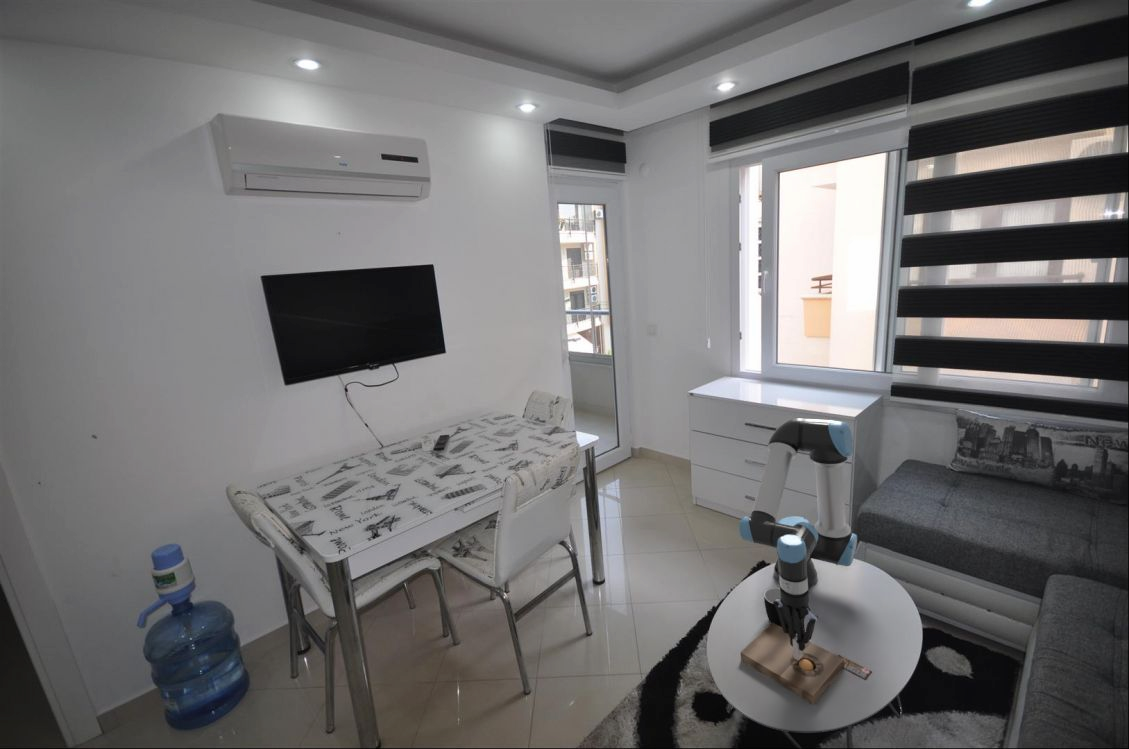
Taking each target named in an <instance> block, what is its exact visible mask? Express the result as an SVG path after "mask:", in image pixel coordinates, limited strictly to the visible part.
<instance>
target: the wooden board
mask: <svg viewBox="0 0 1129 749" xmlns="http://www.w3.org/2000/svg"><path fill="white" fill-rule="evenodd" d="M803 659H806V660H808V661H810V662H811V663H812V665H813V671H805V670H803V669H801V668H800V667H799V662H800V661H801V660H803ZM740 660H741V661H742V662H743V663H745V664H746V665H748V666H750V667H751V668H753V669H754V670H756V671H758V672H760V673H761V674H763V675H764V676H766V677H767V678H769V679H771V680H772V681H774V682H776V683H778V684H779V685H780V686H782V687H784V688H785V689H787V690H788V691H790V692H793V693H794V694H795V695H797V696H798V697H800V698H802V699H803V700H805V701H806V702H808V703H810V704H812V705H814V706H815V705H816V703H817V702H818V700H819V699H820V698H821V697H822V696H823V694H824V693H825V692H826V691H827V690H828V689H829V687H830V686H831V685H832V683H833V682H834V681H835V680H836V679H837V677H838V676H839V675H840V674H841V672H842V671H843V670H845V669H844V659H843V658H841V657H839V656H838V655H837V654H835V653H833V652H831V651H829V650H827V649H825V648H823V647H821V646H820V645H817V644H815V643H814V642H812V641H811V640H810V641H809V642H808V643H807V644H805V649H804V650H803V656H802V657H801V658H800V659H799V660H797V659H795V658H794V654H793V646H791V644H790V637H789V634H787V633H784V632H783V629H782V627H780V626H778V625H776V624H774V623H770V624H769V625H768V626H767V627H765V629H763V631H761V632H760V633H759V634H758V635H757V636H756V637H755V638H754V639H753V640H752V641H750V642H749V644H747V646H745V647H744V648H743V649H742V650H741V651H740Z"/></svg>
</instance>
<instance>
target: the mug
mask: <svg viewBox="0 0 1129 749" xmlns="http://www.w3.org/2000/svg"><path fill="white" fill-rule="evenodd" d="M763 593H764V594H763V601H764V602H763V603H764V608H765V612H766V615H767V619H768V622H769V623H770V624H771V623H774V624H776V625H778V626H780V627H782V625H781V622H780V619H779V615H778V612H777V609H776V607H775V605H774V604H773V602H774V601H775V600H776V599H777V598H780V599H781V594H780V587H771V588H768V589H766V590H765V591H764V592H763Z"/></svg>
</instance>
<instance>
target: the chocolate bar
mask: <svg viewBox="0 0 1129 749" xmlns="http://www.w3.org/2000/svg"><path fill="white" fill-rule="evenodd" d="M837 656H839V657H841V658H843V659H844V669H843V670H844V671H847V672H849V673H850V674H852V675H854V676H856V677H858V678H860V679H862V680H864V681H867V680H868V678H869V677H870V676H871V675H872V673H873V671H872V670H869V669H868V668H865V667H863V666H862V665H860V664H858V663H856V662H854V661H852V660H851V659H848V658H846V657H844V656H842V655H840V654H838V655H837Z"/></svg>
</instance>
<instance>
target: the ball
mask: <svg viewBox="0 0 1129 749" xmlns="http://www.w3.org/2000/svg"><path fill="white" fill-rule="evenodd" d="M799 667H800V668H801V669H803V670H805V671H814V669H813V665H812V663H811V662H810V661H808V660H806V659H803V660H801V661H800V662H799Z"/></svg>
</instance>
